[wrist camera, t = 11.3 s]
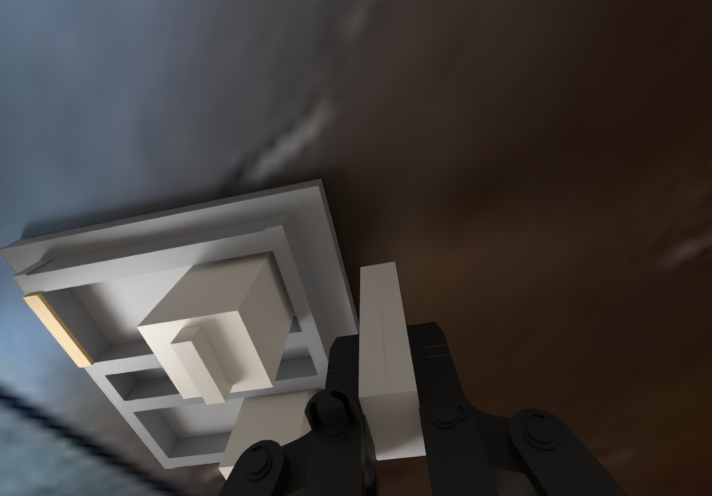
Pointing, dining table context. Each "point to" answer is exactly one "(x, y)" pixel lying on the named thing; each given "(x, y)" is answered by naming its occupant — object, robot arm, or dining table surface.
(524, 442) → the robot arm
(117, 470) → the dining table surface
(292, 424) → the tab
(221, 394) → the tab
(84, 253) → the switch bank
